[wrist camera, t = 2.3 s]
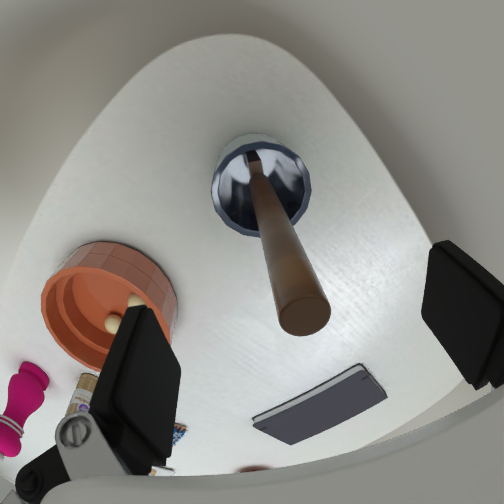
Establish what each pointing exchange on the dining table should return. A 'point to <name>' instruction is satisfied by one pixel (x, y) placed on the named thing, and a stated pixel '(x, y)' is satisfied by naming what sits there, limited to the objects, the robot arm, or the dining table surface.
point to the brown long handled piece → (286, 260)
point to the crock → (237, 179)
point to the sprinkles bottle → (82, 394)
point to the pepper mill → (20, 406)
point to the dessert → (161, 471)
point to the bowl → (102, 298)
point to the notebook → (322, 406)
